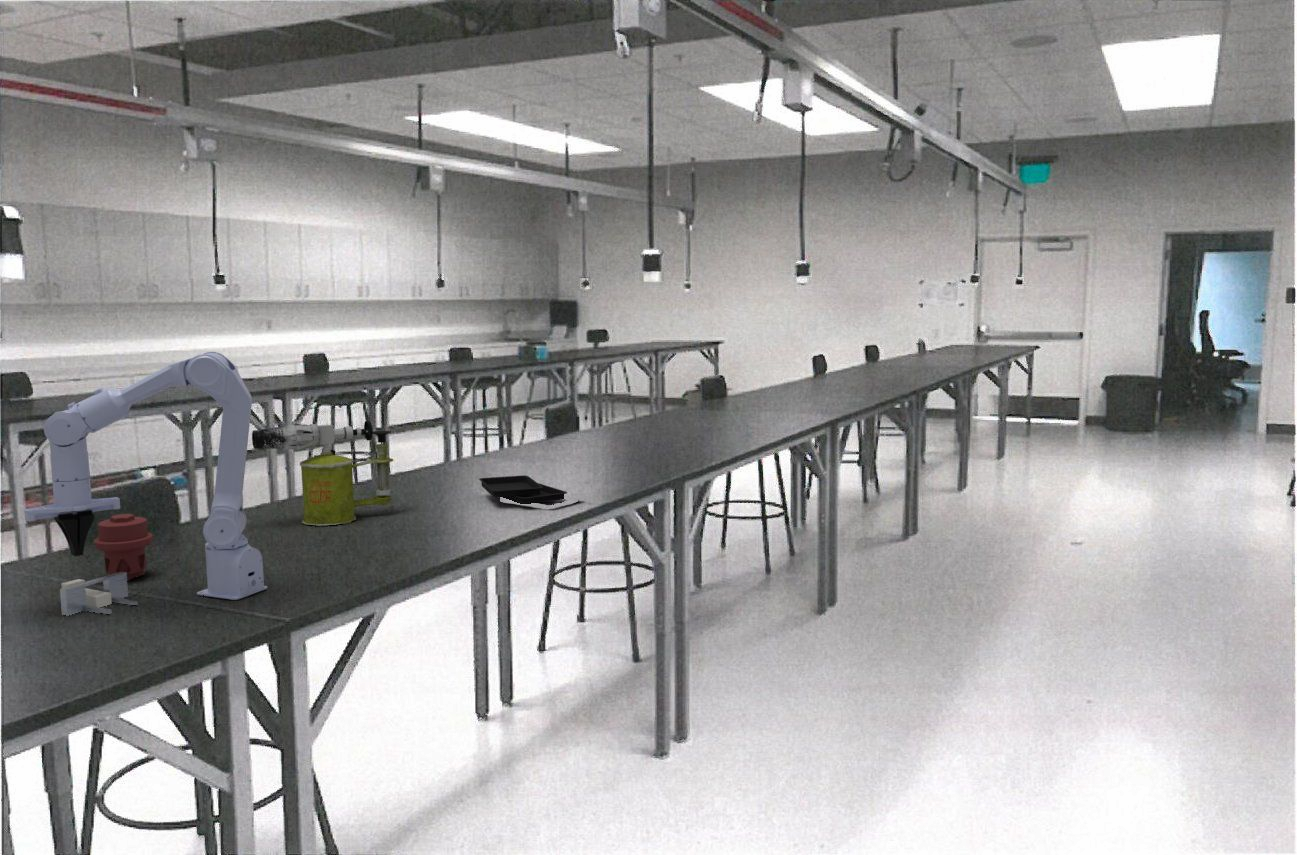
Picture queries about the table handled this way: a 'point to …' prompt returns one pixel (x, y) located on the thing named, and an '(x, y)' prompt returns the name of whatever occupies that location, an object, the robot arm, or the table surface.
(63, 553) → the table surface
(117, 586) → the housing
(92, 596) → the cream l-shaped block
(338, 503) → the blowtorch
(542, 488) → the tray
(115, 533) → the mechanical component
